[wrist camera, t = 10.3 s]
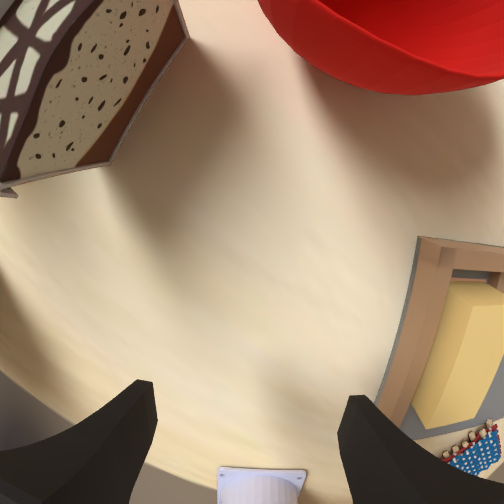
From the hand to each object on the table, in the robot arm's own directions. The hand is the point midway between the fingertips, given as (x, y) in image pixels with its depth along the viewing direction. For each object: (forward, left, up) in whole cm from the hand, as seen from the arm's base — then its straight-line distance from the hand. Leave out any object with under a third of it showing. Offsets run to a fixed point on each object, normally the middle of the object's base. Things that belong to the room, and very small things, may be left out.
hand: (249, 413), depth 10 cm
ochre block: (-2, -14, -9) cm, 17 cm away
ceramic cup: (+20, -6, -10) cm, 23 cm away
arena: (-4, -19, -9) cm, 21 cm away
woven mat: (-19, -25, -9) cm, 32 cm away
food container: (+14, +10, -10) cm, 20 cm away
